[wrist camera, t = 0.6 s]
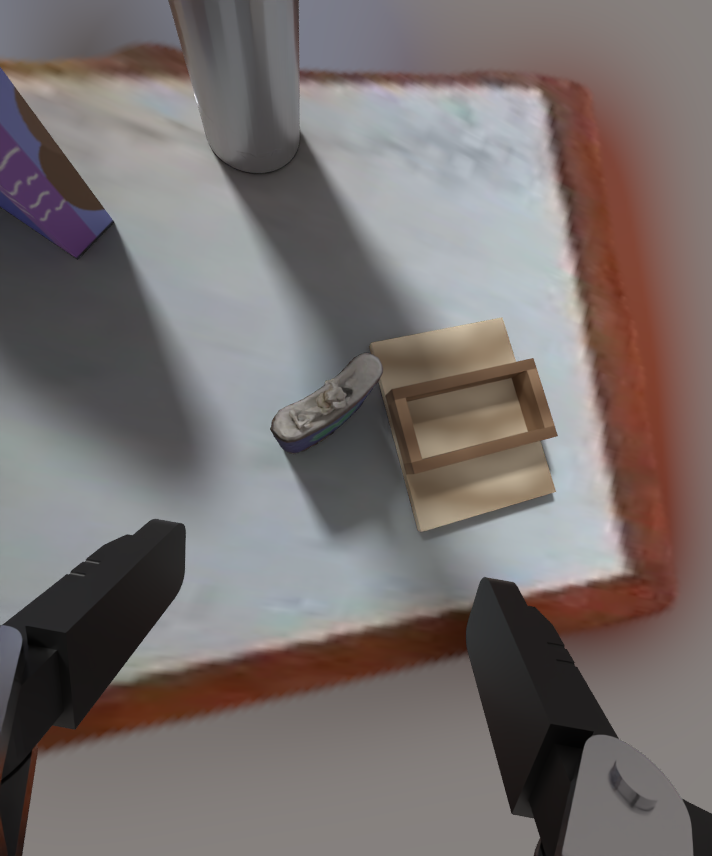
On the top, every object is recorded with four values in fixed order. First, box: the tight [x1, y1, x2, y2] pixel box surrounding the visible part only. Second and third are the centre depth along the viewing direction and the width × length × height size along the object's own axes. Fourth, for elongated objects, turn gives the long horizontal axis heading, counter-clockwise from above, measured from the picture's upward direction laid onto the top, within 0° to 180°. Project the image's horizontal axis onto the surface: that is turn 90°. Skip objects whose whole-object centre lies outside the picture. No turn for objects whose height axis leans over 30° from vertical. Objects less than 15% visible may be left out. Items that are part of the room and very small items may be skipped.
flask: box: [270, 353, 383, 454], centre depth 28 cm, size 9×3×11 cm, turn 128°
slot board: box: [369, 318, 558, 532], centre depth 33 cm, size 18×14×4 cm
